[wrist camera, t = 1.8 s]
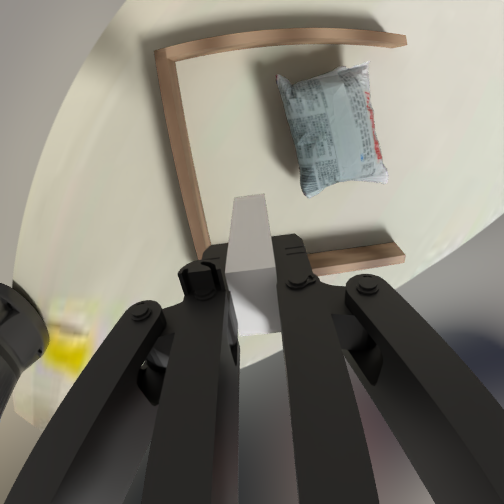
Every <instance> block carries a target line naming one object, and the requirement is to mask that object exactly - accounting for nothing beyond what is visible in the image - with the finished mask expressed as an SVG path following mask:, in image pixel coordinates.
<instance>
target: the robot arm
mask: <svg viewBox="0 0 504 504" xmlns="http://www.w3.org/2000/svg"><path fill="white" fill-rule="evenodd" d="M178 277H179V280H180V283H181V286H182V289H183V292H184V295H185V296H184V300H183V302H181V303H179V304H176V305H174V306H171V307H167V308H164V309H162V308H161V306H160V304H158V303H157V302H156V301H152V300H146V301H141V302H138V303H136V304H134V305H132V306H131V307H130V308H129V309H128V310H126V311H125V313H124V314H123V315H122V317H121V318H120V319H119V321H118V322H117V323H116V325H115V326H114V328H113V329H112V330H111V332H110V333H109V334H108V336H107V337H106V338H105V340H104V341H103V343H102V344H101V345H100V347H99V348H98V350H97V351H96V352H95V354H94V355H93V357H92V358H91V360H90V361H89V362H88V364H87V365H86V367H85V368H84V370H83V371H82V373H81V374H80V375H79V377H78V378H77V380H76V381H75V383H74V384H73V386H72V387H71V389H70V390H69V392H68V393H67V395H66V396H65V398H64V400H63V401H62V403H61V404H60V406H59V407H58V409H57V410H56V412H55V414H54V415H53V417H52V418H51V420H50V422H49V423H48V425H47V426H46V428H45V430H44V431H43V433H42V435H41V437H40V438H39V440H38V441H37V443H36V445H35V447H34V448H33V450H32V452H31V454H30V455H29V457H28V459H27V461H26V462H25V464H24V467H23V468H22V470H21V471H20V473H19V475H18V477H17V479H16V481H15V483H14V485H13V487H12V489H11V491H10V493H9V494H8V496H7V499H6V501H5V503H4V504H122V503H123V501H124V498H125V496H126V494H127V492H128V490H129V487H130V485H131V483H132V481H133V479H134V476H135V474H136V472H137V470H138V468H139V466H140V463H141V461H142V459H143V457H144V455H145V453H146V450H147V448H148V446H149V444H150V442H151V446H150V452H149V457H148V463H147V469H146V475H145V481H144V488H143V494H142V501H141V504H238V447H239V446H238V445H239V374H240V346H239V342H238V331H239V335H240V336H249V335H259V334H268V333H276V332H281V333H282V342H283V352H284V359H285V369H286V378H287V387H288V397H289V407H290V416H291V427H292V436H293V448H294V459H295V470H296V482H297V493H298V504H379V499H378V494H377V489H376V484H375V479H374V474H373V470H372V465H371V460H370V456H369V451H368V447H367V443H366V439H365V434H364V430H363V426H362V422H361V418H360V414H359V410H358V406H357V403H356V399H355V395H354V391H353V388H352V384H351V380H350V377H349V373H348V370H347V366H346V363H345V359H344V356H345V358H346V359H347V361H348V363H349V364H350V366H351V367H352V369H353V370H354V372H355V373H356V375H357V377H358V378H359V380H360V381H361V383H362V385H363V386H364V388H365V389H366V391H367V392H368V394H369V395H370V397H371V399H372V400H373V402H374V403H375V405H376V407H377V408H378V410H379V411H380V413H381V414H382V416H383V418H384V419H385V421H386V423H387V424H388V426H389V427H390V429H391V431H392V432H393V434H394V436H395V437H396V439H397V440H398V442H399V444H400V445H401V447H402V449H403V450H404V452H405V454H406V455H407V457H408V459H409V460H410V462H411V464H412V465H413V467H414V468H415V470H416V471H417V474H418V475H419V477H420V479H421V480H422V482H423V484H424V485H425V487H426V489H427V490H428V492H429V494H430V495H431V497H432V499H433V501H434V502H435V504H504V409H502V407H501V406H500V404H499V403H498V402H497V401H496V399H495V398H494V397H493V396H492V394H491V393H490V392H489V391H488V390H487V389H486V387H485V386H484V385H483V384H482V382H481V381H480V380H479V379H478V378H477V377H476V375H475V374H474V373H473V372H472V371H471V370H470V368H469V367H468V366H467V365H466V364H465V363H464V362H463V361H462V359H461V358H460V357H459V356H458V355H457V354H456V353H455V352H454V351H453V349H452V348H451V347H450V346H449V345H448V344H447V343H446V342H445V341H444V340H443V339H442V337H441V336H440V335H439V334H438V333H437V332H436V331H435V330H434V329H433V328H432V327H431V326H430V325H429V324H428V323H427V322H426V321H425V320H424V319H423V318H422V317H421V316H420V314H419V313H417V312H416V311H415V309H414V308H413V307H411V305H410V304H409V303H407V301H406V300H404V299H403V297H402V296H401V295H399V294H398V293H397V292H396V291H395V290H394V289H393V288H392V287H391V286H390V285H389V284H388V283H387V282H386V281H385V280H384V279H382V278H381V277H379V276H375V275H372V274H360V275H356V276H354V277H352V278H350V279H349V280H348V282H347V283H346V287H345V286H333V285H328V284H325V283H323V282H321V281H320V279H319V278H318V277H317V275H316V274H314V273H313V271H312V268H311V265H310V262H309V259H308V256H307V253H306V250H305V247H304V244H303V241H302V239H301V238H300V237H299V236H297V235H296V234H288V235H280V236H272V237H271V233H270V226H269V220H268V213H267V207H266V200H265V194H257V195H250V196H243V197H235V198H234V203H233V211H232V219H231V227H230V235H229V243H224V244H216V245H210V246H209V247H208V248H207V249H206V250H205V251H204V252H203V255H202V259H201V260H197V261H193V262H191V263H189V264H187V265H185V266H184V267H183V268H181V269H180V271H179V272H178ZM48 345H49V333H48V330H47V328H46V326H45V324H44V322H43V320H42V318H41V317H40V315H39V314H38V313H37V311H36V310H35V309H34V308H33V306H32V305H31V304H30V303H29V302H28V301H27V300H26V299H25V298H24V297H23V296H22V295H20V294H19V293H18V292H17V291H15V290H14V289H12V288H11V287H9V286H7V285H5V284H2V283H0V419H1V416H2V414H3V411H4V409H5V407H6V405H7V402H8V400H9V398H10V396H11V394H12V392H13V389H14V387H15V385H16V383H17V381H18V379H19V377H20V375H21V374H22V372H23V371H25V370H26V369H27V368H28V367H29V366H31V365H32V364H33V363H34V362H35V361H37V360H38V359H39V358H40V357H41V356H42V355H43V354H44V352H45V350H46V349H47V347H48ZM343 355H344V356H343ZM144 361H145V362H144ZM143 363H144V364H143ZM142 364H143V365H142Z"/></svg>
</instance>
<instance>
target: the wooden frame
mask: <svg viewBox="0 0 504 504" xmlns="http://www.w3.org/2000/svg"><path fill="white" fill-rule="evenodd" d="M295 44H349V45H365V46H377V47H387V48H396V47H400V46H405V45H407V40H406V35H400V34H393V33H386V32H378V31H369V30H357V29H341V28H288V29H272V30H260V31H251V32H242V33H235V34H228V35H222V36H216V37H210V38H205V39H200V40H195V41H190V42H186V43H182V44H178V45H173V46H170V47H166V48H162V49H158V50H155V51H154V55H155V61H156V68H157V74H158V80H159V85H160V91H161V97H162V102H163V108H164V113H165V118H166V123H167V128H168V133H169V138H170V143H171V148H172V153H173V157H174V162H175V167H176V171H177V176H178V180H179V185H180V189H181V193H182V197H183V202H184V206H185V210H186V214H187V218H188V222H189V226H190V230H191V234H192V238H193V242H194V246H195V250H196V253H197V257H198V260H201V259H202V255H203V252H204V251H205V250H206V249H207V248H208V247H209V246H210V245H211V242H210V237H209V233H208V229H207V224H206V220H205V215H204V211H203V206H202V202H201V197H200V192H199V187H198V183H197V178H196V173H195V168H194V163H193V158H192V153H191V148H190V143H189V138H188V133H187V127H186V122H185V117H184V111H183V106H182V100H181V94H180V88H179V83H178V77H177V71H176V65H175V62H176V61H180V60H185V59H189V58H194V57H199V56H204V55H209V54H214V53H220V52H226V51H233V50H240V49H248V48H256V47H266V46H278V45H295ZM307 256H308V259H309V262H310V265H311V268H312V271H313V273H314V274H316V275H317V276H323V275H330V274H336V273H343V272H350V271H356V270H363V269H369V268H375V267H382V266H388V265H394V264H400V263H404V262H405V254H404V253H403V251H402V250H401V249H400V248H399V247H398V246H397V244H396V243H395V242H392V243H385V244H378V245H370V246H363V247H356V248H349V249H341V250H334V251H327V252H319V253H312V254H307Z"/></svg>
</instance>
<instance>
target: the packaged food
mask: <svg viewBox="0 0 504 504" xmlns="http://www.w3.org/2000/svg"><path fill="white" fill-rule="evenodd" d="M369 62H370V61H367V62H365V63H362V64H360V65H356V66H353V67H351V68H346V66H339V67H337V68H336V69H334V70H333V71H331V72H328V73H325V74H322V75H319V76H316V77H313V78H310V79H307V80H303V81H299V82H297V83H295V84H294V85H291V83H290V81H289V80H288V79H287V78H285V77H283V76H281V75H280V74H278V75H276V82H277V85H278V89H279V91H280V94H281V98H282V101H283V105H284V109H285V113H286V117H287V121H288V123H289V126H290V131H291V134H292V138H293V140H294V144H295V147H296V153H297V159H298V163H299V169H300V185H301V189H302V192H303V193H304V195H305V196H307V197H308V198H309V199H310V198H311V197H313V196H315V195H316V194H319V193H320V192H321V191H322V190H323V189H324V188H325V187H327V186H330V185H333V184H335V183H338V182H344V181H349V180H354V181H368V182H376V183H382V184H386V183H388V171H387V169H386V168H385V166H384V164H383V159H382V154H381V149H380V144H379V141H378V139H377V135H376V132H375V124H374V122H375V121H374V110H373V108H372V106H371V103H370V85H369V72H368V70H369Z"/></svg>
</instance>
